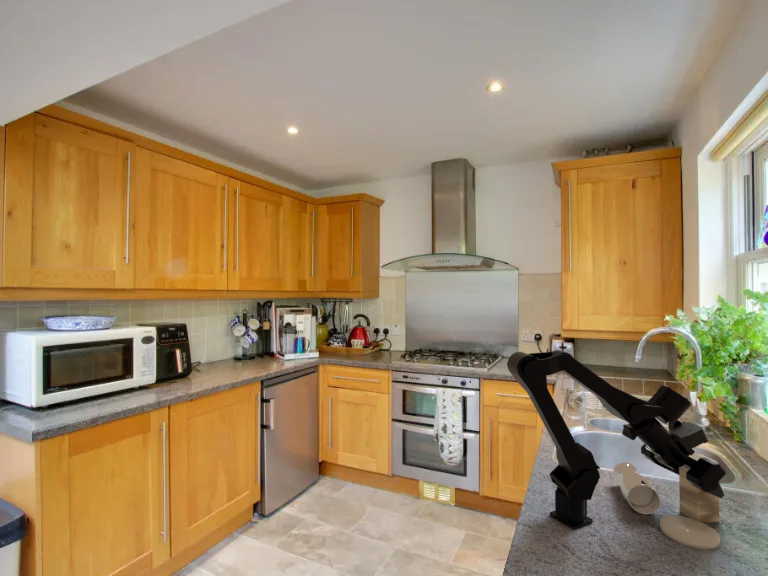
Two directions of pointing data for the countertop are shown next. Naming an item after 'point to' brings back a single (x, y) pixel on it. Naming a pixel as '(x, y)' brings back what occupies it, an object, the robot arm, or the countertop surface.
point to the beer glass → (636, 489)
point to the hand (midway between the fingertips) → (704, 486)
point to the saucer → (690, 532)
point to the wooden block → (697, 498)
